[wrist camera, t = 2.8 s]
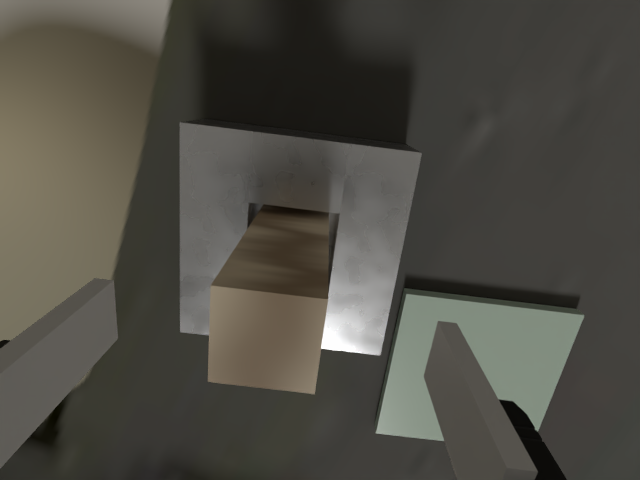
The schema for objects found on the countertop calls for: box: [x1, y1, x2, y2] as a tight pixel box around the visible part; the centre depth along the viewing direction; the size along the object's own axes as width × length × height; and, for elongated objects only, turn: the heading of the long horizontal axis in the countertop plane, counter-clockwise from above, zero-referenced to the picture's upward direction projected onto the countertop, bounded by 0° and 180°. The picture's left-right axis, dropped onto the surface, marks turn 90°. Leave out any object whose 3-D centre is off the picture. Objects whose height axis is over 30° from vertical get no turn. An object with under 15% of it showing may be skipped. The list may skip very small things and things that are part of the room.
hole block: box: [180, 119, 422, 355], centre depth 27 cm, size 14×14×5 cm
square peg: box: [208, 204, 329, 394], centre depth 22 cm, size 4×4×14 cm
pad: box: [375, 288, 584, 441], centre depth 33 cm, size 14×14×1 cm
